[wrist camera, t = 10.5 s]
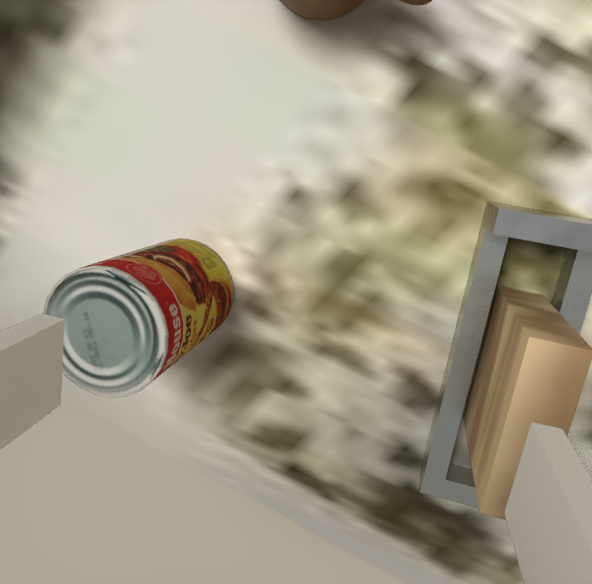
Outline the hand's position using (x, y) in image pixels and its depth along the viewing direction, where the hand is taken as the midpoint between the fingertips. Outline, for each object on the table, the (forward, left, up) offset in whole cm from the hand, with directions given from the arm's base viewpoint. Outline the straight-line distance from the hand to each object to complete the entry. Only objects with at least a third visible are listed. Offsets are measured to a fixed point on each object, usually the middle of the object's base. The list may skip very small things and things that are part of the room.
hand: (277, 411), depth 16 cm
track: (+11, -5, -26) cm, 29 cm away
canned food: (-13, -5, -26) cm, 30 cm away
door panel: (+11, -5, -26) cm, 29 cm away
